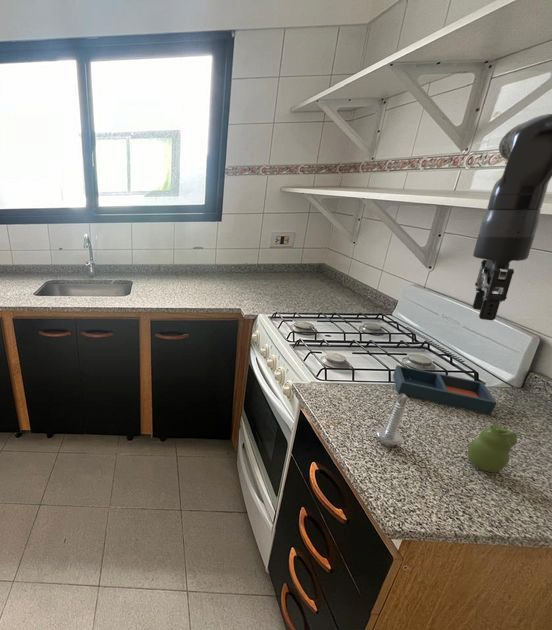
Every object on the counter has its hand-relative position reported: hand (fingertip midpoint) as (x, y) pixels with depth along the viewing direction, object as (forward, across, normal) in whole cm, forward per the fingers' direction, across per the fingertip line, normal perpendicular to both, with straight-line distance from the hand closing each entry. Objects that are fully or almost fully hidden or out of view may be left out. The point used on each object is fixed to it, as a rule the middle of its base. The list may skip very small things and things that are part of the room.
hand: (482, 314), depth 71 cm
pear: (+29, -11, -4) cm, 31 cm away
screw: (+28, -14, +11) cm, 33 cm away
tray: (+26, +15, +2) cm, 30 cm away
